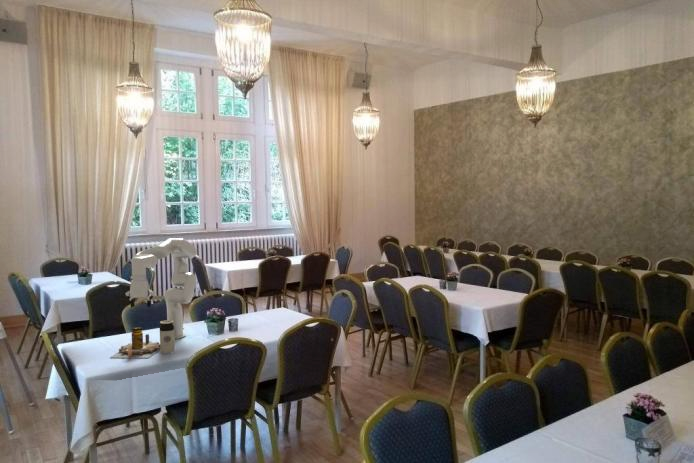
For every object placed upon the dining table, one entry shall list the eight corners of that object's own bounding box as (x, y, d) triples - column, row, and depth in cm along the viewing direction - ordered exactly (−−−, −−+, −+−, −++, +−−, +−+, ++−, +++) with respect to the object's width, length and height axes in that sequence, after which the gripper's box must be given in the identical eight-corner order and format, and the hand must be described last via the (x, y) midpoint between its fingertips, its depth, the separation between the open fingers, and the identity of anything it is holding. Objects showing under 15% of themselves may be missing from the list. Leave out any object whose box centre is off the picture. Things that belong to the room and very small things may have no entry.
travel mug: (162, 350, 321) (161, 320, 320) (176, 349, 322) (175, 319, 320) (158, 354, 313) (157, 323, 312) (172, 353, 314) (171, 322, 313)
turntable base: (131, 345, 332) (130, 336, 332) (166, 345, 331) (166, 336, 331) (109, 358, 306) (109, 348, 306) (148, 358, 305) (147, 348, 304)
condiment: (144, 348, 315) (144, 328, 314) (129, 351, 310) (128, 330, 310) (142, 345, 321) (141, 325, 320) (127, 348, 317) (126, 327, 316)
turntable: (132, 343, 333) (131, 332, 333) (168, 344, 330) (168, 333, 330) (110, 354, 310) (110, 343, 310) (149, 355, 307) (149, 344, 307)
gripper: (121, 279, 313) (123, 308, 315) (151, 279, 312) (152, 308, 314) (127, 276, 321) (129, 305, 322) (156, 276, 320) (158, 305, 321)
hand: (140, 306), depth 318 cm, fingers open, 9 cm apart
